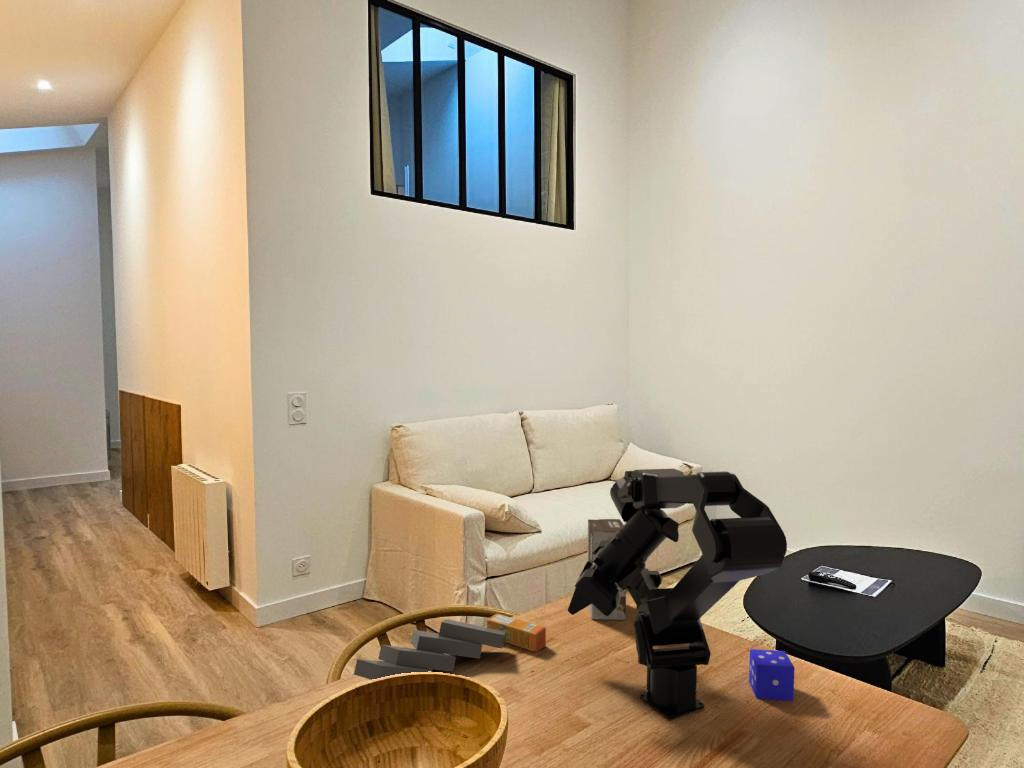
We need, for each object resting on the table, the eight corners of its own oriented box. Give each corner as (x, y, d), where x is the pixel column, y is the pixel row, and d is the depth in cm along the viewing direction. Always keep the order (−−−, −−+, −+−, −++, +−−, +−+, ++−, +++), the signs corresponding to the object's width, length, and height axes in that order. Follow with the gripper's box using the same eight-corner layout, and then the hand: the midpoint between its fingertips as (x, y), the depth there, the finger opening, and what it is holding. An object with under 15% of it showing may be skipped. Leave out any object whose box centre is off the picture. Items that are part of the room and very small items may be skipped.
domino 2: (436, 651, 107) (381, 644, 101) (455, 657, 103) (399, 650, 97) (434, 665, 106) (378, 659, 100) (453, 671, 102) (395, 665, 97)
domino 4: (506, 631, 112) (446, 619, 113) (503, 635, 107) (441, 621, 108) (504, 644, 112) (444, 631, 113) (501, 648, 107) (438, 635, 108)
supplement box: (534, 654, 110) (486, 638, 116) (547, 645, 113) (498, 630, 119) (534, 634, 110) (485, 619, 116) (546, 626, 113) (498, 611, 119)
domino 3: (473, 638, 111) (413, 629, 109) (482, 645, 107) (419, 635, 104) (471, 651, 111) (410, 643, 108) (479, 658, 106) (416, 649, 103)
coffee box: (627, 620, 124) (628, 531, 123) (590, 620, 124) (592, 531, 123) (619, 601, 133) (621, 518, 132) (586, 600, 133) (587, 517, 132)
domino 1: (408, 663, 102) (357, 658, 95) (432, 669, 99) (381, 665, 92) (405, 677, 102) (353, 674, 95) (429, 684, 99) (377, 681, 92)
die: (756, 699, 97) (757, 664, 97) (748, 681, 102) (749, 648, 102) (793, 701, 96) (794, 666, 96) (784, 683, 101) (785, 650, 101)
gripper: (674, 602, 94) (601, 678, 97) (680, 558, 112) (617, 624, 115) (611, 545, 96) (541, 622, 99) (627, 511, 113) (567, 577, 117)
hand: (570, 612), depth 108 cm, fingers closed
